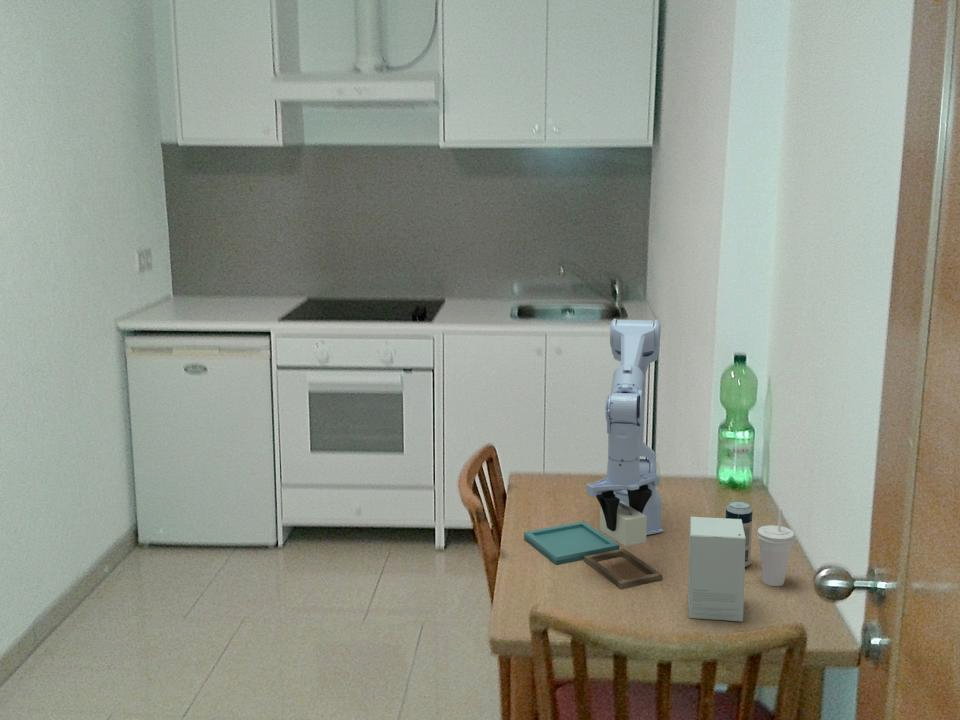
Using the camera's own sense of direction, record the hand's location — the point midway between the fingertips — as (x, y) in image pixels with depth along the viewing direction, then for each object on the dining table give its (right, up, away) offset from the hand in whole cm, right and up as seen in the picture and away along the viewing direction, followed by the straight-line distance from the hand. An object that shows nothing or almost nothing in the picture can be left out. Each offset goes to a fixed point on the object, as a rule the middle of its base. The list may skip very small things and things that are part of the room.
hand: (622, 527), depth 174 cm
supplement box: (+14, -12, -14) cm, 23 cm away
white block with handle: (0, -2, 0) cm, 2 cm away
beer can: (+22, -8, +3) cm, 24 cm away
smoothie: (+27, -9, -4) cm, 29 cm away
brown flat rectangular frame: (0, -8, +2) cm, 9 cm away
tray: (-8, -6, +14) cm, 17 cm away
